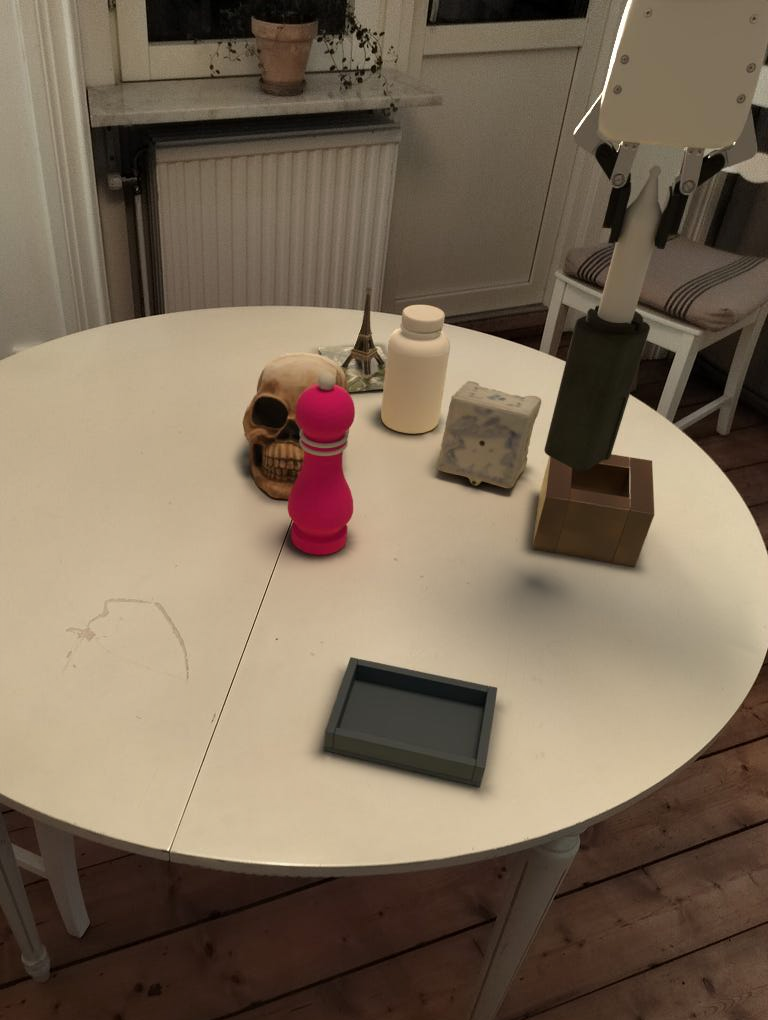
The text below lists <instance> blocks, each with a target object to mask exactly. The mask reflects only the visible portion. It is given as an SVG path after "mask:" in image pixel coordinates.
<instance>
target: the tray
mask: <svg viewBox="0 0 768 1020" xmlns="http://www.w3.org/2000/svg"><path fill="white" fill-rule="evenodd" d="M497 695H498V687H497V686H492V685H486V684H482V683H481V684H480V683H476V682H471V681H467V680H463V679H457V678H453V677H447V676H444V675H438V674H434V673H429V672H424V671H419V670H415V669H410V668H406V667H405V668H404V667H399V666H395V665H391V664H387V663H380V662H377V661H372V660H366V659H362V658H357V657H353V656H352V657H351V656H350V658H349V660H348V663H347V666H346V669H345V671H344V675H343V677H342V680H341V684H340V686H339V690H338V693H337V694H336V699H335V701H334V704H333V706H332V710H331V713H330V716H329V719H328V722H327V724H326V728H325V731H324V741H323V742H324V744H323V750H324V751H326V752H330V753H333V754H338V755H342V756H346V757H350V758H351V757H352V758H355V759H358V760H359V759H360V760H364V761H369V762H373V763H377V764H381V765H386V766H389V767H394V768H398V769H402V770H407V771H411V772H415V773H418V774H419V773H420V774H423V775H428V776H433V777H437V778H441V779H446V780H448V781H449V780H450V781H453V782H458V783H463V784H467V785H471V786H475V787H478V788H479V787H481V785H482V782H483V778H484V775H485V772H486V766H487V758H488V754H489V753H488V752H489V747H490V740H491V733H492V727H493V722H494V721H493V719H494V714H495V707H496V701H497Z"/></svg>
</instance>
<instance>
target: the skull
mask: <svg viewBox="0 0 768 1020" xmlns="http://www.w3.org/2000/svg"><path fill="white" fill-rule="evenodd" d="M323 372H330V373H332V374H333V375H334V377H335V380H336V382H335V385H338V386H340V387H342V388H343V389H345V390H346V391H347V392H348V393H349V394H350V392H349V387H348V382H347V379H346V376H345V374H344V372H343V370H342V369H341V367H340V366H339V365H338V364H337V363H335V362H334V361H333V360H331V359H329V358H327V357H325V356H322V355H321V354H317V353H311V352H303V351H298V352H297V351H296V352H292V351H291V352H286V353H284V354H280V355H277V356H275V357H274V358H273V359H271V360H270V361H269V362H268V363H266V365H264V368H263V369H262V370H261V372H260V375H259V377H258V379H257V385H256V394H255V395H254V396H253V398H252V399H251V400H250V402H249V403H248V405H247V407H246V409H245V412H244V415H243V418H242V427H243V432H244V434H243V435H244V437H245V440H246V441H247V442H248V443H249V444H250V445H249V466H250V470H251V473H252V476H253V479H254V483H255V484H256V485H257V487H259V488H260V489H262V491H264V492H266V494H267V495H269V496H270V497H271V498H274V499H281V500H289V495H290V492H291V490H292V487H293V485H294V483H295V481H296V479H297V478H298V476H299V473H300V471H301V469H302V465H303V459H304V450H303V449H302V447H301V446H300V442H299V441H300V430H301V429H302V428H301V427H300V426H299V424H298V422H297V420H296V414H295V410H296V404H297V401H298V399H299V396H300V395H301V394H302V393H303V391H305V390H306V389H307V388H309V387H311V386H312V385H316V384H318V377H319V375H320V374H322V373H323ZM347 432H348V435H349V434H350V428H349V429H348V430H347Z"/></svg>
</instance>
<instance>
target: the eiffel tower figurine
mask: <svg viewBox="0 0 768 1020" xmlns="http://www.w3.org/2000/svg"><path fill="white" fill-rule="evenodd" d="M368 280H369V281H368V287H366V290H365V293H366V295H365V296H366V297H365V302H364V303H365V304H364V309H363V315H362V316H363V317H362V322H361V327H360V331H359V333H358V338H357V340H356V343H355V345H354V346H318V349H319V353H320V355H322V356H325V357H327V358H329V359H331V360H333V361H334V362H335V363H337V364H338V365H339V366H340V367H341V369H342V370H343V372H344V374H345V376H346V379H347V382H348V387H349V393H354V392H364V391H375V390H384V379H385V369H386V359H387V355H386V354H385V353H384V351H383V349H382V347H381V346H375V343H374V340H373V335H372V334H373V332H372V329H371V294H372V287H371V286H370V284H371V279H368Z"/></svg>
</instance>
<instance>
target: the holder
mask: <svg viewBox="0 0 768 1020" xmlns="http://www.w3.org/2000/svg"><path fill="white" fill-rule="evenodd" d="M653 470H654V469H653V460H651V459H644V458H638V457H633V456H632V457H631V456H627V455H625V456H624V455H618V454H612V453H611V456H610V458H609V459H608V460H603V461H601V462H599V463H598V464H596V465H594V466H592V467H591V469H590V470H586V471H581V470H576V469H573V468H571V467H569V466H567V465H565V464H564V463H562V462H560V461H558V460H556V459H554V458H552V457H550V456H548V459H547V463H546V467H545V471H544V475H543V479H542V483H541V486H540V489H539V490H540V491H539V494H538V501H537V508H536V516H535V523H534V531H533V539H532V546H531V549H532V550H538V551H543V552H549V553H553V554H554V553H555V554H560V555H566V556H571V557H578V558H583V559H589V560H595V561H600V562H605V563H610V564H611V563H612V564H616V565H623V566H629V567H633V568H635V567H636V566H637V563H638V561H639V557H640V555H641V553H642V550H643V547H644V544H645V541H646V539H647V536H648V534H649V530H650V528H651V525H652V523H653V520H654V518H655V493H654V473H653V472H654V471H653Z"/></svg>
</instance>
